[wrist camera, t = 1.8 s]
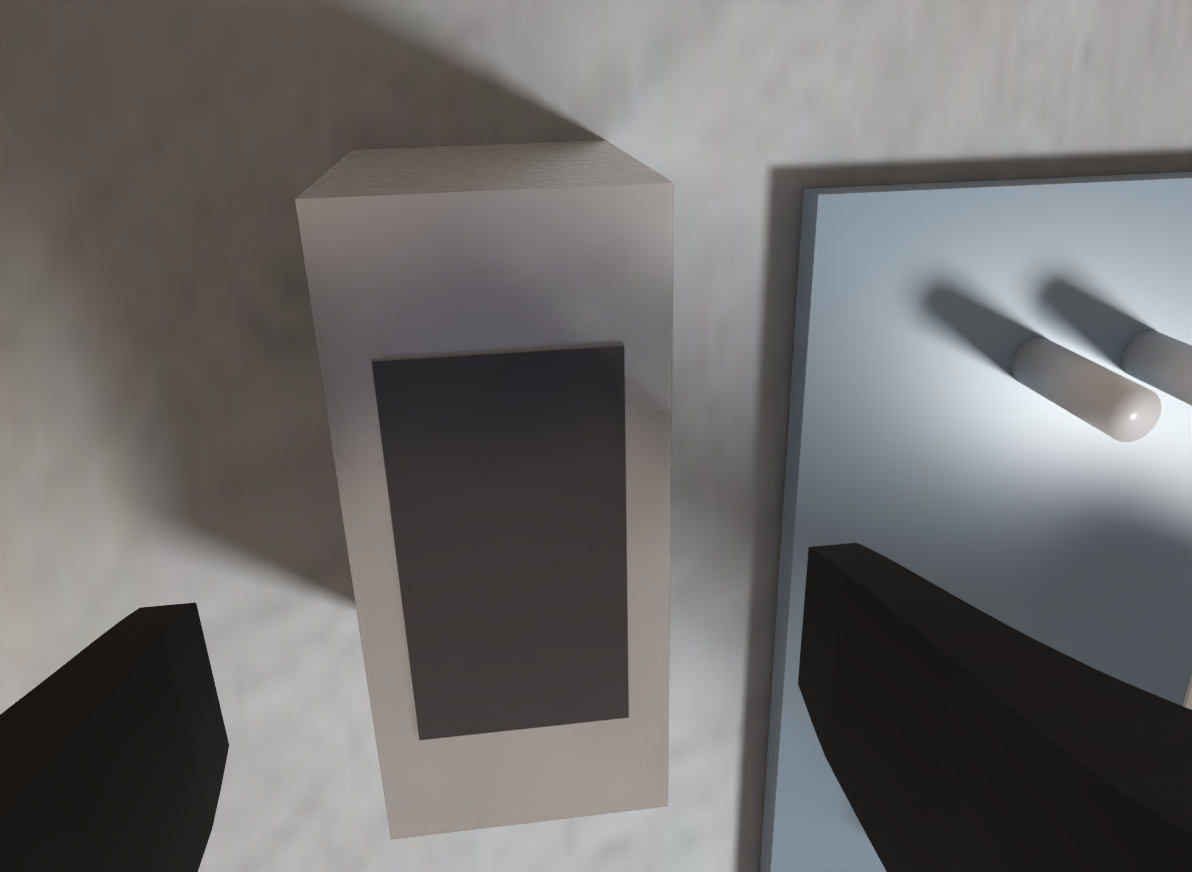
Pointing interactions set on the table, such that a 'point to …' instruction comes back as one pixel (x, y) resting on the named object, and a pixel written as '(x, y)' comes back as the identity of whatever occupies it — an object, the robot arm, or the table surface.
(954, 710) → the robot arm
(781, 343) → the table surface
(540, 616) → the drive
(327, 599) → the table surface
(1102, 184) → the dock
